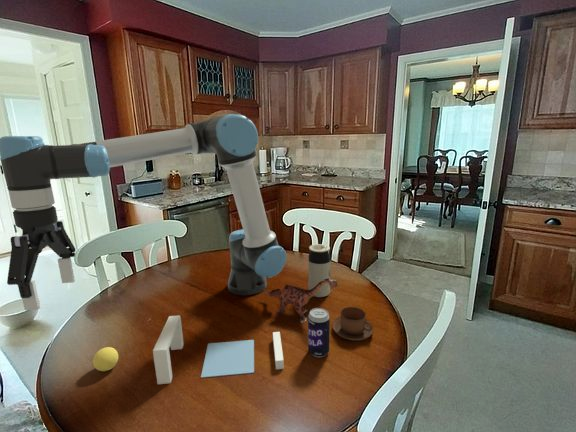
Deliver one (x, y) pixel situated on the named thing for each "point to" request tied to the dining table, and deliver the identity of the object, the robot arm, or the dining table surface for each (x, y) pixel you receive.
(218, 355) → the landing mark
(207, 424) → the dining table surface
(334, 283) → the toy dinosaur
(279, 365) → the stopper
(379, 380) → the dining table surface
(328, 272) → the travel mug
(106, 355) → the ball
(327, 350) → the beverage can
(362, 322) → the cup and saucer
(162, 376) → the bridge
